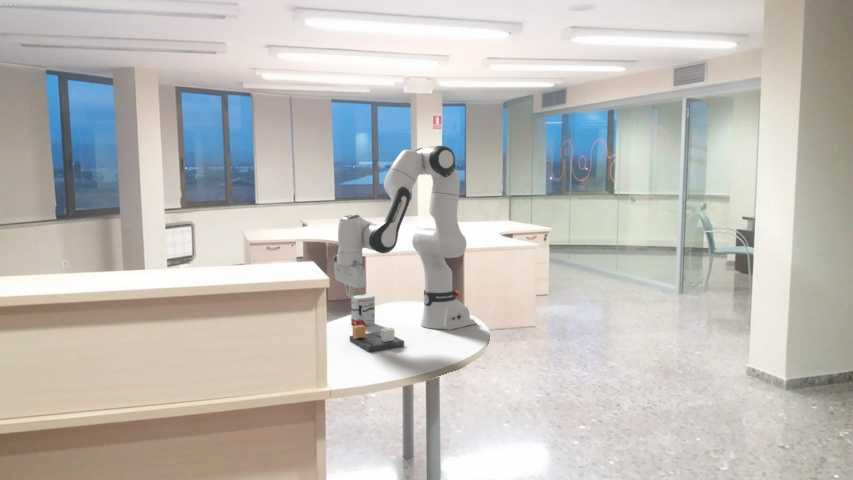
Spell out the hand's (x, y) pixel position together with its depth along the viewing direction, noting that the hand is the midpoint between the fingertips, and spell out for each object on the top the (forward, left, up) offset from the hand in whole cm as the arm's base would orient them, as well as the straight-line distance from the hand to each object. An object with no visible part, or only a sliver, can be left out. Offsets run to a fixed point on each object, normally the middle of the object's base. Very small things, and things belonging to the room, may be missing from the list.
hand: (350, 296), depth 240 cm
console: (-5, +11, -16) cm, 20 cm away
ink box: (-13, -17, -16) cm, 27 cm away
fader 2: (-7, +16, -14) cm, 22 cm away
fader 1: (0, +7, -14) cm, 15 cm away
